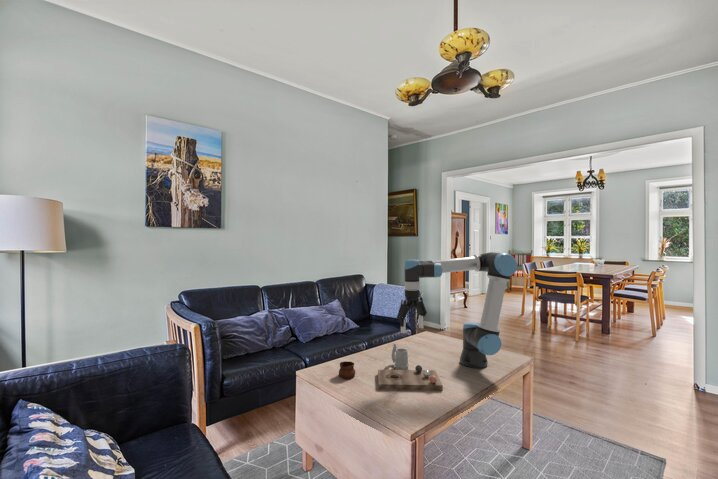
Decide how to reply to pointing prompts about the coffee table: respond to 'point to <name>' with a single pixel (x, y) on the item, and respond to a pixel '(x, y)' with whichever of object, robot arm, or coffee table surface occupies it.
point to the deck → (407, 380)
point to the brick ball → (433, 379)
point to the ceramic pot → (347, 370)
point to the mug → (400, 358)
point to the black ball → (418, 368)
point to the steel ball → (426, 373)
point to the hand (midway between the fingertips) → (412, 330)
